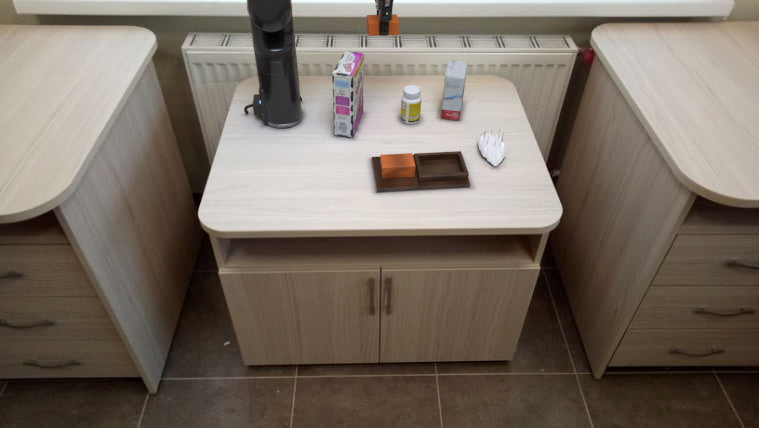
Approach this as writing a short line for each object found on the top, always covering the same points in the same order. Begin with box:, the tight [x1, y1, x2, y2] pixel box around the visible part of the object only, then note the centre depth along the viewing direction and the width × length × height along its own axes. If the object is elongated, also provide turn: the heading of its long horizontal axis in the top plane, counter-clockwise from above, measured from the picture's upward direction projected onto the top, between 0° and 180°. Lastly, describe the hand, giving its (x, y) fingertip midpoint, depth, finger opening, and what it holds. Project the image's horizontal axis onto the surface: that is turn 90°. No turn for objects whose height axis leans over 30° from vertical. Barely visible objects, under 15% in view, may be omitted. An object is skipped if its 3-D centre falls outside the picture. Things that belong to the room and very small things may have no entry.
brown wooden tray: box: [371, 150, 471, 194], centre depth 117 cm, size 20×11×4 cm, turn 96°
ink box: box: [440, 59, 468, 121], centre depth 133 cm, size 9×5×12 cm, turn 168°
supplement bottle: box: [400, 84, 422, 125], centre depth 131 cm, size 5×5×8 cm
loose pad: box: [366, 13, 400, 37], centre depth 126 cm, size 7×4×3 cm, turn 97°
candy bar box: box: [331, 50, 365, 139], centre depth 126 cm, size 11×5×16 cm, turn 168°
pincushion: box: [477, 129, 507, 167], centre depth 123 cm, size 12×6×6 cm, turn 1°
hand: (382, 29), depth 127 cm, fingers closed on loose pad, 4 cm apart
